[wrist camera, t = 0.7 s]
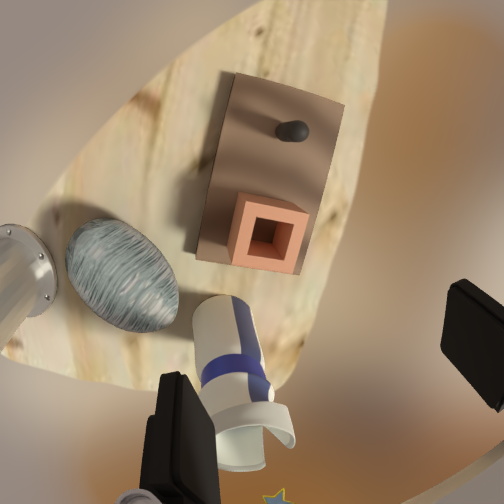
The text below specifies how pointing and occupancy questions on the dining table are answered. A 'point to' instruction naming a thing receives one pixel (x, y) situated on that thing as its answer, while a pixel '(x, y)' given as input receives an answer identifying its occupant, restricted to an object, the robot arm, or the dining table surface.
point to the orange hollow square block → (285, 239)
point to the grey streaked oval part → (122, 276)
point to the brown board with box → (268, 159)
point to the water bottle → (237, 386)
